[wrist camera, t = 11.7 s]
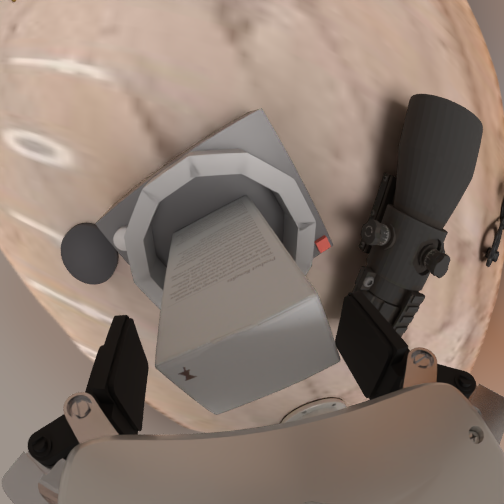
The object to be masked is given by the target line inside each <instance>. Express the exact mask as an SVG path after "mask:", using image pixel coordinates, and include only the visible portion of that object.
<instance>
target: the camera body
mask: <svg viewBox="0 0 504 504" xmlns="http://www.w3.org/2000/svg"><path fill="white" fill-rule="evenodd" d="M245 195H247V196H248V197H249V198H250V199H251V200H252V202H253V203H254V204H255V206H256V207H257V209H258V210H259V211H260V213H261V214H262V216H263V217H264V218H265V220H266V221H267V223H268V224H269V226H270V227H271V228H272V230H273V231H274V233H275V234H276V236H277V237H278V238H279V240H280V241H281V243H282V244H283V246H284V247H285V248H286V250H287V251H288V253H289V254H290V255H291V257H292V258H293V260H294V261H295V262H296V264H297V265H298V267H299V268H300V269H301V271H302V272H303V274H304V275H306V274H307V272H308V271H309V269H310V268H311V266H312V260H313V258H314V257H316V256H317V255H319V254H321V253H322V252H324V251H325V250H327V249H329V248H330V247H332V246H333V243H332V241H331V239H330V237H329V235H328V233H327V230H326V228H325V226H324V224H323V222H322V220H321V218H320V216H319V214H318V211H317V209H316V207H315V205H314V203H313V201H312V199H311V197H310V195H309V193H308V191H307V189H306V187H305V185H304V183H303V181H302V180H301V178H300V176H299V174H298V172H297V170H296V168H295V166H294V164H293V162H292V161H291V159H290V157H289V155H288V153H287V151H286V150H285V148H284V146H283V144H282V142H281V141H280V139H279V137H278V135H277V134H276V132H275V130H274V128H273V127H272V125H271V123H270V122H269V120H268V118H267V116H266V115H265V113H264V111H263V110H262V108H261V109H257V110H254V111H251V112H249V113H247V114H245V115H243V116H241V117H240V118H238V119H236V120H234V121H233V122H231V123H229V124H227V125H226V126H224V127H222V128H221V129H219V130H217V131H216V132H214V133H213V134H211V135H209V136H208V137H206V138H205V139H203V140H201V141H200V142H198V143H197V144H195V145H194V146H192V147H191V148H189V149H188V150H186V151H185V152H183V153H182V154H180V155H179V156H177V157H176V158H174V159H173V160H171V161H170V162H169V163H167V164H166V165H164V166H163V167H162V168H160V169H159V170H157V171H156V172H155V173H153V174H152V175H151V176H149V177H148V178H147V179H145V180H144V181H143V182H141V183H140V184H139V185H138V186H136V187H135V188H134V189H132V190H131V191H130V192H129V193H127V194H126V195H125V196H124V197H122V198H121V199H120V200H119V201H118V202H116V203H115V204H114V205H113V206H112V207H111V208H110V209H109V210H108V211H107V212H106V213H105V214H104V215H103V216H102V217H101V218H100V219H99V220H98V221H97V222H96V223H95V224H96V225H97V227H98V228H99V229H100V231H101V232H102V233H103V234H104V236H105V237H106V238H107V239H108V240H109V242H110V243H111V244H112V245H113V247H114V248H115V249H116V250H117V251H118V252H119V254H120V255H121V256H122V257H123V258H124V260H125V261H126V262H127V263H128V264H129V265H130V268H131V272H132V276H133V280H134V283H135V284H136V285H137V286H138V287H139V288H140V289H141V290H142V291H143V292H144V294H145V295H146V296H147V297H148V298H149V299H150V300H151V301H152V302H153V303H154V304H155V305H156V306H157V307H158V308H159V309H160V310H161V304H162V296H163V289H164V282H165V276H166V270H167V264H168V258H169V252H170V246H171V241H172V235H173V234H174V233H175V232H177V231H179V230H181V229H183V228H184V227H186V226H188V225H190V224H192V223H194V222H195V221H197V220H199V219H201V218H203V217H205V216H207V215H208V214H210V213H212V212H214V211H216V210H218V209H220V208H222V207H224V206H226V205H228V204H230V203H232V202H234V201H235V200H238V199H239V198H241V197H243V196H245Z"/></svg>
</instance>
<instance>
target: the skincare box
mask: <svg viewBox="0 0 504 504" xmlns="http://www.w3.org/2000/svg"><path fill="white" fill-rule="evenodd" d="M339 361H340V356H339V353H338V350H337V347H336V344H335V341H334V338H333V335H332V332H331V329H330V326H329V323H328V320H327V317H326V314H325V312H324V309H323V306H322V303H321V301H320V298H319V295H318V293H317V292H316V290H315V289H314V287H313V286H312V285H311V283H310V282H309V281H308V279H307V278H306V276H305V275H304V274H303V272H302V271H301V269H300V268H299V267H298V265H297V264H296V262H295V261H294V260H293V258H292V257H291V255H290V254H289V253H288V251H287V250H286V248H285V247H284V246H283V244H282V243H281V241H280V240H279V238H278V237H277V236H276V234H275V233H274V231H273V230H272V228H271V227H270V226H269V224H268V223H267V221H266V220H265V218H264V217H263V216H262V214H261V213H260V211H259V210H258V209H257V207H256V206H255V204H254V203H253V202H252V200H251V199H250V198H249V197H248V196H247V195H245V196H243V197H241V198H239V199H238V200H235V201H234V202H232V203H230V204H228V205H226V206H224V207H222V208H220V209H218V210H216V211H214V212H212V213H210V214H208V215H207V216H205V217H203V218H201V219H199V220H197V221H195V222H194V223H192V224H190V225H188V226H186V227H184V228H183V229H181V230H179V231H177V232H175V233H174V234H173V235H172V241H171V246H170V252H169V258H168V264H167V270H166V276H165V282H164V289H163V296H162V304H161V311H160V320H159V329H158V338H157V346H156V358H155V367H156V369H157V370H159V371H160V372H161V373H162V374H163V375H165V376H166V377H167V378H168V379H169V380H171V381H172V382H173V383H174V384H176V385H177V386H178V387H179V388H180V389H182V390H183V391H184V392H185V393H187V394H188V395H189V396H190V397H192V398H193V399H194V400H195V401H197V402H198V403H199V404H201V405H202V406H203V407H205V408H206V409H207V410H209V411H210V412H212V413H214V414H216V415H217V414H220V413H223V412H226V411H229V410H231V409H234V408H237V407H239V406H242V405H244V404H247V403H250V402H252V401H255V400H257V399H260V398H262V397H265V396H267V395H270V394H272V393H275V392H277V391H280V390H282V389H284V388H287V387H289V386H291V385H293V384H295V383H298V382H300V381H302V380H304V379H306V378H308V377H310V376H312V375H314V374H316V373H318V372H320V371H322V370H324V369H326V368H328V367H330V366H332V365H334V364H336V363H338V362H339Z"/></svg>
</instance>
